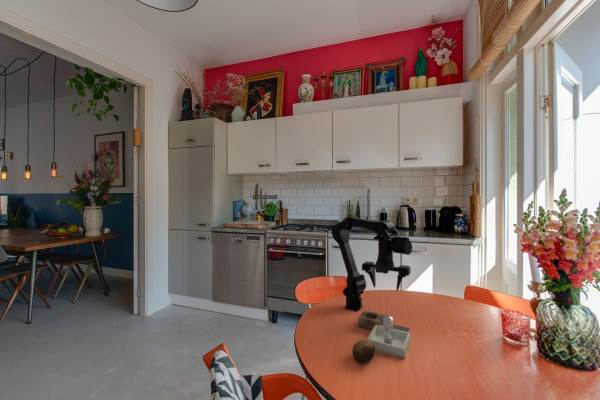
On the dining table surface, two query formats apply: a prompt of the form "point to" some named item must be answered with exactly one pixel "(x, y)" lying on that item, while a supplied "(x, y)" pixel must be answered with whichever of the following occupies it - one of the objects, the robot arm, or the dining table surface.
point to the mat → (401, 328)
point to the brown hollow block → (370, 320)
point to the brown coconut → (363, 351)
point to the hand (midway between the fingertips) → (385, 288)
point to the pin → (388, 329)
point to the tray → (397, 349)
